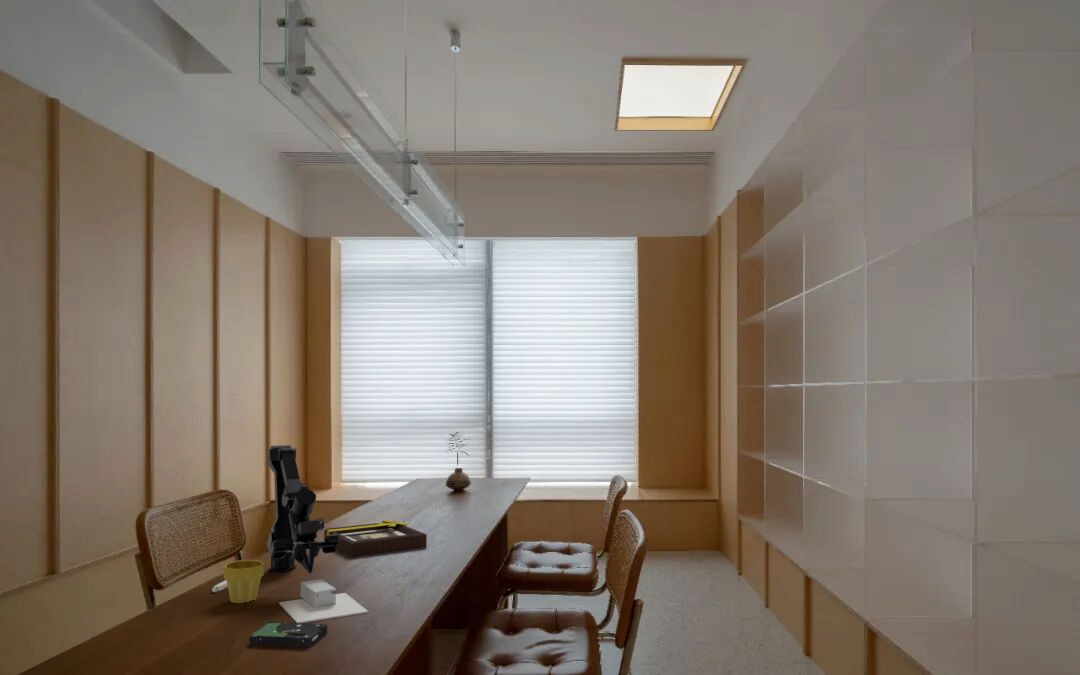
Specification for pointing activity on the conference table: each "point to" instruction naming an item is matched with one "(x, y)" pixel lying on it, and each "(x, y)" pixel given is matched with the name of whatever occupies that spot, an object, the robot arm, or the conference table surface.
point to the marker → (220, 586)
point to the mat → (322, 609)
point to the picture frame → (377, 538)
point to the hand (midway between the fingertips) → (310, 572)
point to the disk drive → (288, 634)
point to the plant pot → (243, 579)
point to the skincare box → (318, 593)
